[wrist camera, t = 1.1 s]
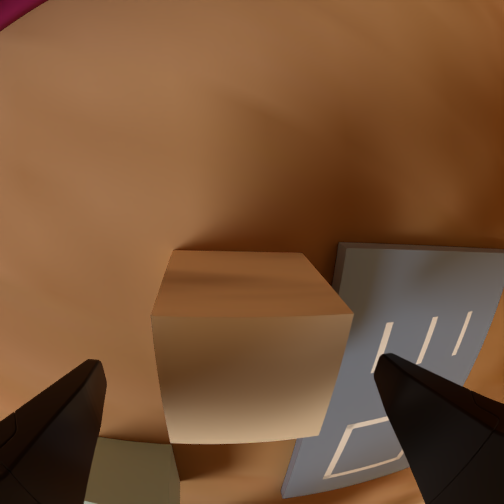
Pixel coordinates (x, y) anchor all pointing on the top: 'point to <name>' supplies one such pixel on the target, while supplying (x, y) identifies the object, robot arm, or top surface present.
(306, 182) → the top surface
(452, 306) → the blueprint board
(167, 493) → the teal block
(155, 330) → the maple block
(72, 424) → the robot arm
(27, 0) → the book
